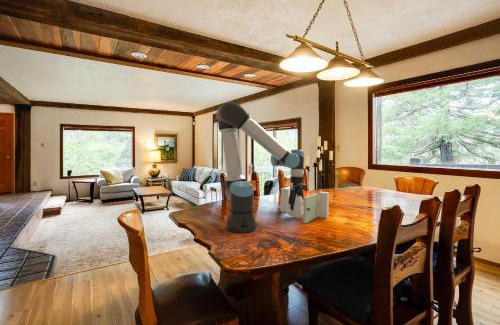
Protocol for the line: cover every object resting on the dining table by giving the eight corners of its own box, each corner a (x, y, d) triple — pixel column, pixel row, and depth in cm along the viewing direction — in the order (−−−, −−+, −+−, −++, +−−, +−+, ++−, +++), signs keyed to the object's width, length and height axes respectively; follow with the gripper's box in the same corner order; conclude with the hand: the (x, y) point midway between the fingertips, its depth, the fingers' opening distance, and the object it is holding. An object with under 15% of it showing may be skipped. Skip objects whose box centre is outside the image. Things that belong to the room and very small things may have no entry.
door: (308, 224, 143) (308, 196, 142) (303, 224, 145) (303, 195, 144) (320, 217, 158) (321, 191, 157) (316, 217, 160) (317, 191, 159)
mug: (309, 215, 157) (309, 196, 156) (292, 217, 151) (293, 198, 150) (299, 211, 164) (300, 194, 164) (283, 213, 159) (284, 196, 158)
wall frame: (280, 211, 173) (281, 188, 172) (282, 210, 175) (283, 188, 175) (326, 218, 157) (327, 193, 156) (328, 217, 160) (329, 192, 159)
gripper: (295, 178, 144) (294, 218, 145) (309, 174, 164) (308, 210, 165) (282, 177, 148) (282, 216, 149) (298, 174, 168) (297, 208, 169)
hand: (296, 213), depth 157 cm, fingers open, 10 cm apart
